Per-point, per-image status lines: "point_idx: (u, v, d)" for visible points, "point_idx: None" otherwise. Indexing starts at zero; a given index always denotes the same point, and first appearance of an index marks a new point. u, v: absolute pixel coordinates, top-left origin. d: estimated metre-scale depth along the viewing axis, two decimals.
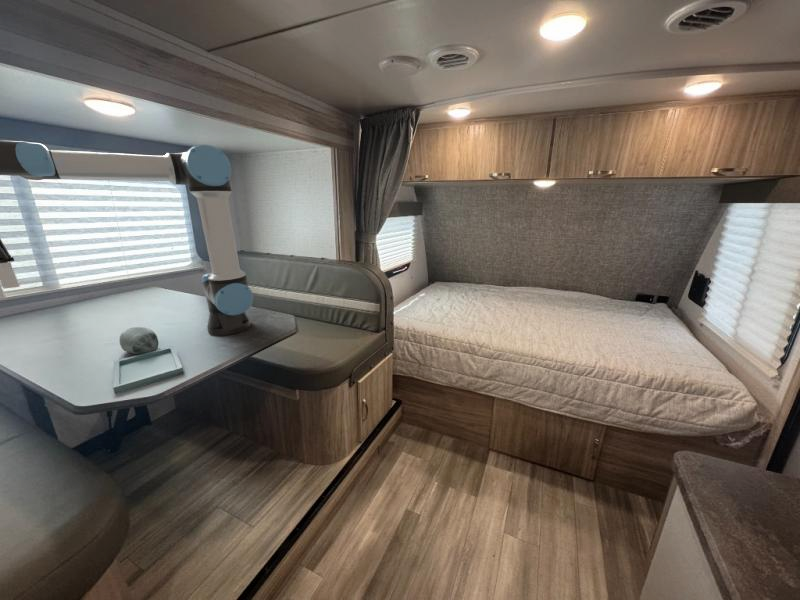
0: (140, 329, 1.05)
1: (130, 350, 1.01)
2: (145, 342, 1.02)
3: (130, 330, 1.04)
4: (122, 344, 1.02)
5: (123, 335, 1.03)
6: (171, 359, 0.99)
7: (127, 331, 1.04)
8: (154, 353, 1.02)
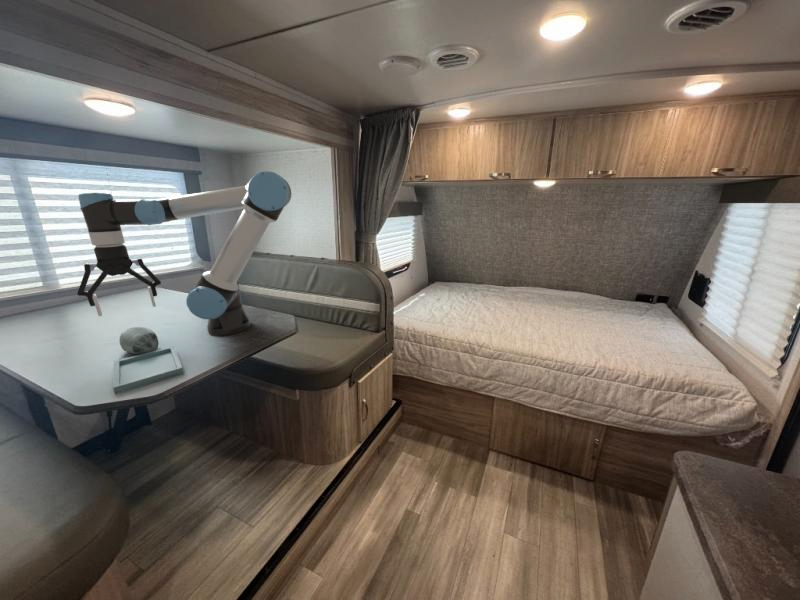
0: (140, 329, 1.05)
1: (130, 350, 1.01)
2: (145, 342, 1.02)
3: (130, 330, 1.04)
4: (122, 344, 1.02)
5: (123, 335, 1.03)
6: (171, 359, 0.99)
7: (127, 331, 1.04)
8: (154, 353, 1.02)
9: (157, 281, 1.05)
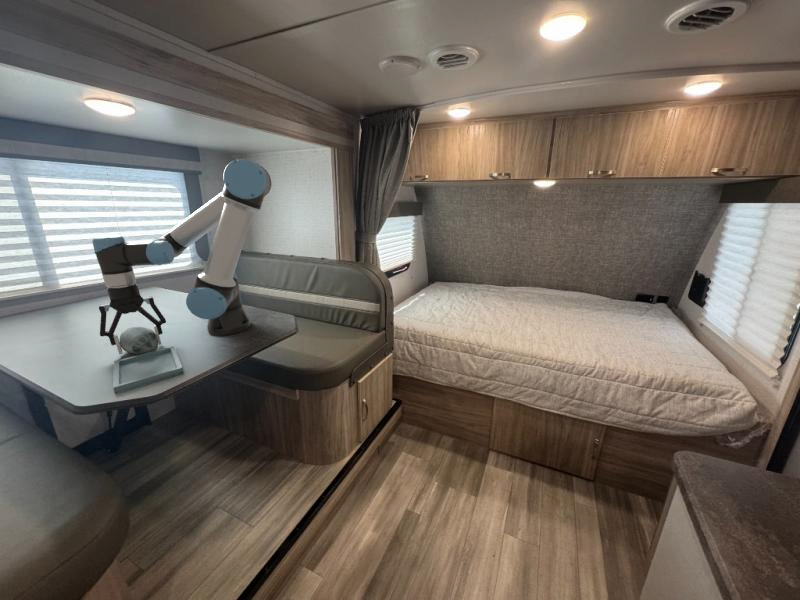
0: (140, 329, 1.05)
1: (130, 350, 1.01)
2: (144, 342, 1.02)
3: (130, 330, 1.04)
4: (122, 344, 1.02)
5: (123, 335, 1.03)
6: (171, 359, 0.99)
7: (127, 331, 1.04)
8: (154, 353, 1.02)
9: (163, 320, 1.08)
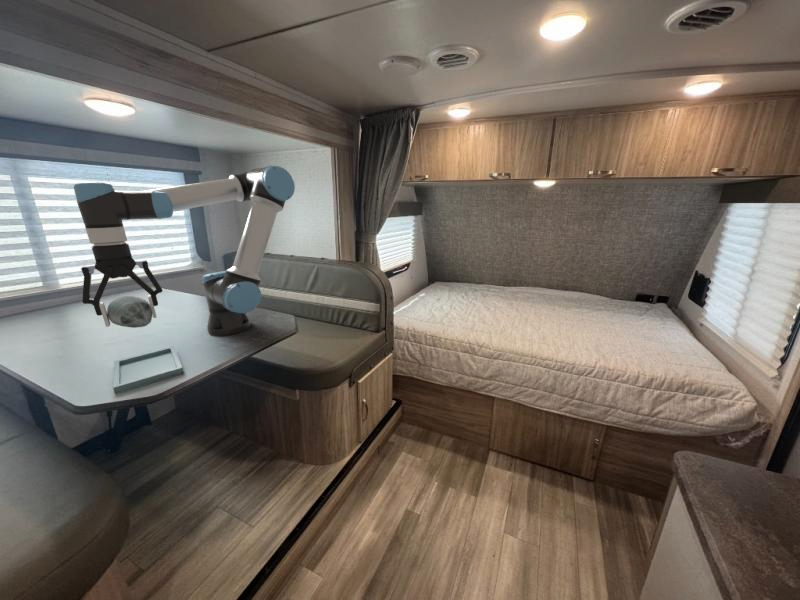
0: (131, 298, 0.88)
1: (118, 321, 0.85)
2: (135, 312, 0.85)
3: (119, 298, 0.88)
4: (109, 314, 0.86)
5: (111, 304, 0.87)
6: (171, 359, 0.99)
7: (116, 300, 0.88)
8: (154, 353, 1.02)
9: (158, 288, 0.92)
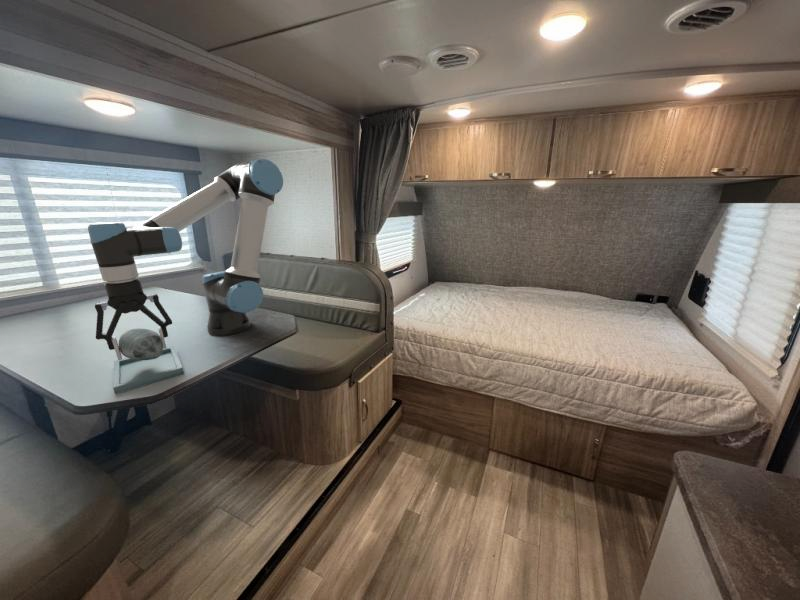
0: (142, 331, 0.91)
1: (130, 355, 0.87)
2: (148, 346, 0.88)
3: (131, 332, 0.90)
4: (121, 348, 0.88)
5: (123, 338, 0.89)
6: (171, 359, 0.99)
7: (127, 333, 0.90)
8: None
9: (168, 321, 0.94)
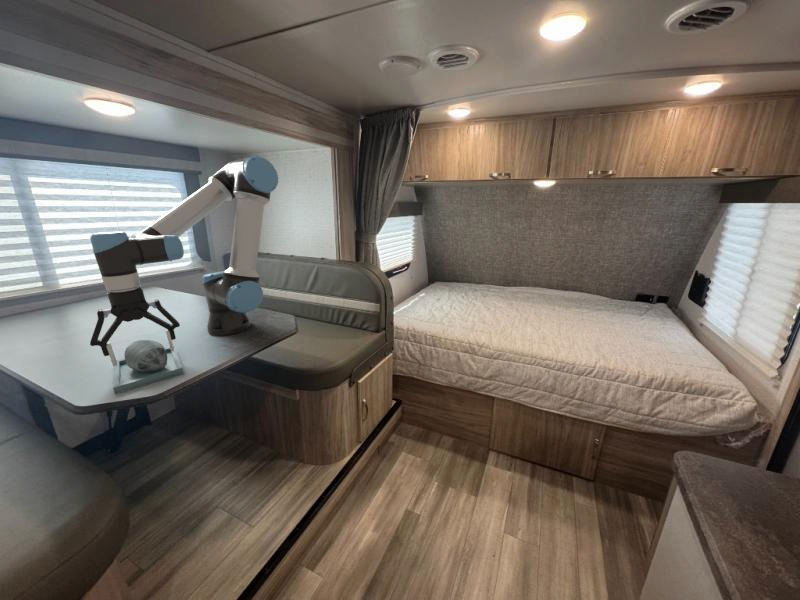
0: (147, 343, 0.92)
1: (135, 367, 0.89)
2: (152, 358, 0.89)
3: (136, 344, 0.92)
4: (127, 360, 0.90)
5: (128, 349, 0.91)
6: (171, 359, 0.99)
7: (133, 345, 0.92)
8: None
9: (176, 323, 0.95)
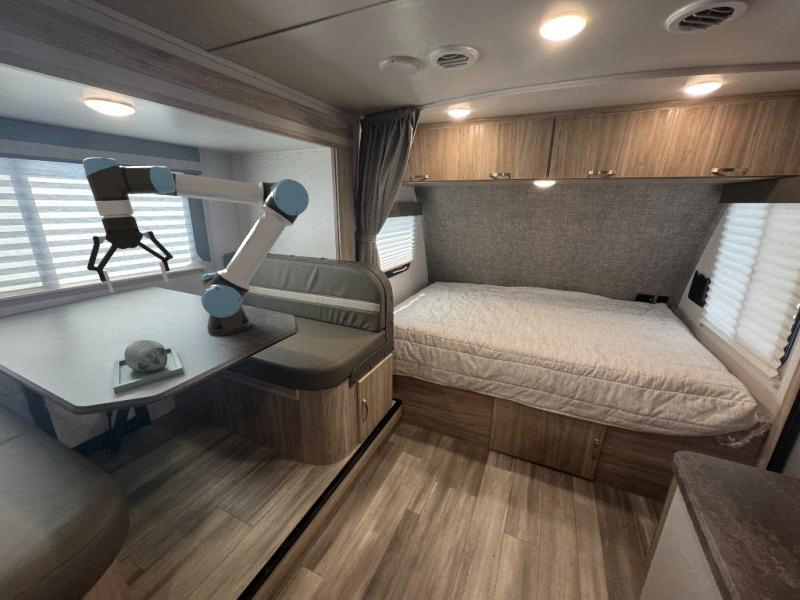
0: (147, 343, 0.92)
1: (135, 367, 0.89)
2: (152, 358, 0.89)
3: (136, 344, 0.92)
4: (127, 360, 0.90)
5: (128, 349, 0.91)
6: (171, 359, 0.99)
7: (133, 345, 0.92)
8: None
9: (169, 255, 1.00)
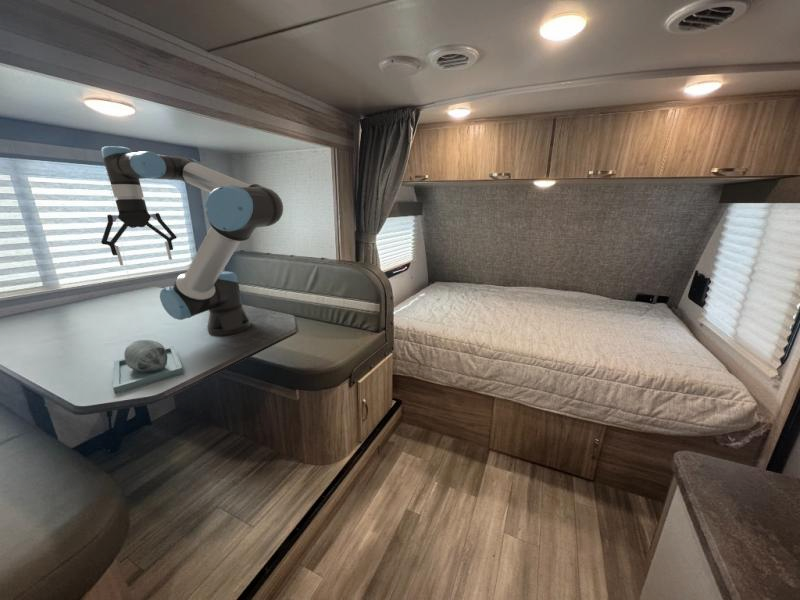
0: (147, 343, 0.92)
1: (135, 367, 0.89)
2: (152, 358, 0.89)
3: (136, 344, 0.92)
4: (127, 360, 0.90)
5: (128, 349, 0.91)
6: (171, 359, 0.99)
7: (133, 345, 0.92)
8: None
9: (173, 235, 1.12)
